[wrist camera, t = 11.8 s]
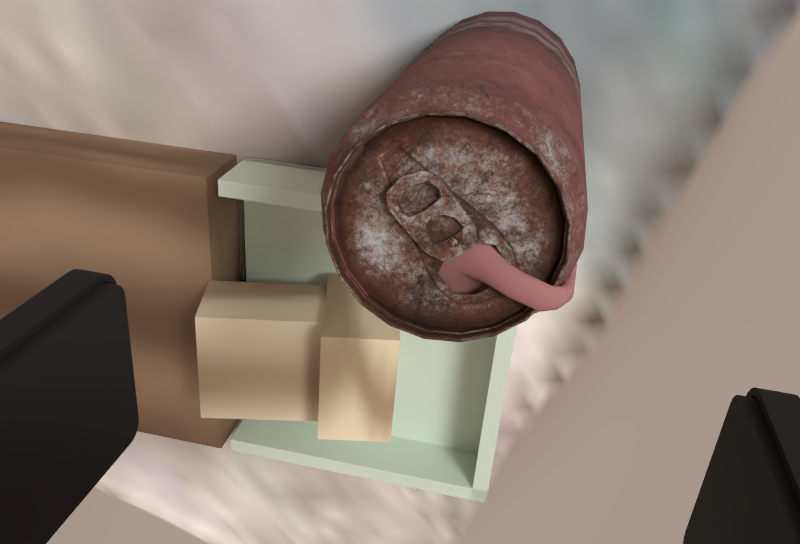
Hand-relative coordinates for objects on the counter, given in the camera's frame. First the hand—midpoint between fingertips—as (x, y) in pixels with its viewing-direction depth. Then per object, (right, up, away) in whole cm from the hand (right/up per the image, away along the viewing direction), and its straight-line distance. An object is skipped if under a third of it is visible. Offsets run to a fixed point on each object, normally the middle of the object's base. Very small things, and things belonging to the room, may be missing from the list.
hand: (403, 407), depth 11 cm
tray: (-1, 0, +23) cm, 22 cm away
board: (-14, +2, +24) cm, 28 cm away
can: (+4, +9, +17) cm, 20 cm away
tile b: (-3, -1, +20) cm, 20 cm away
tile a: (-6, -1, +21) cm, 22 cm away
